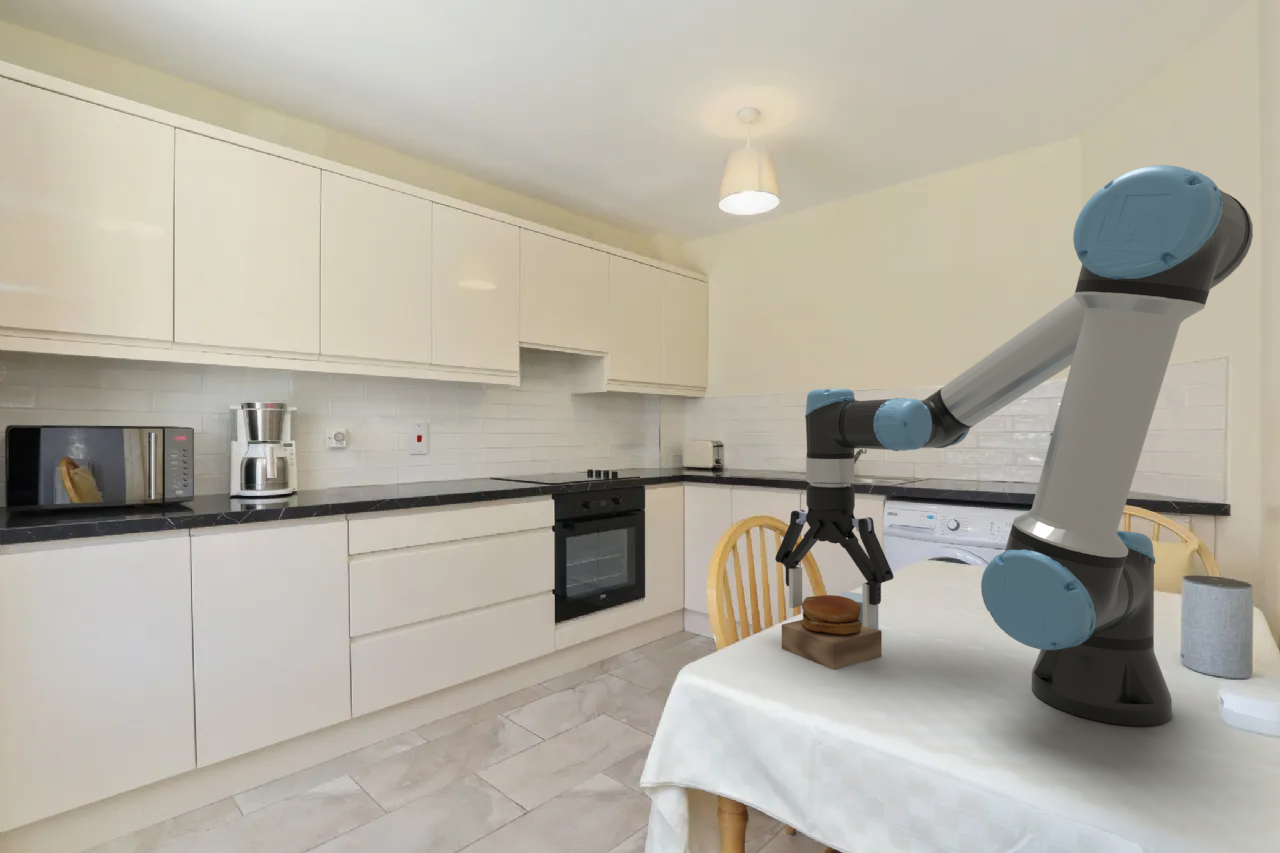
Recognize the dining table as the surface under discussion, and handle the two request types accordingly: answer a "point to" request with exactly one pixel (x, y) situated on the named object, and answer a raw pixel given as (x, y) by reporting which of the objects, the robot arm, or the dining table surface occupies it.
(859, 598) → the slate cube
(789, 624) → the walnut block
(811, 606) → the burger
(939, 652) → the dining table surface
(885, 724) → the dining table surface
